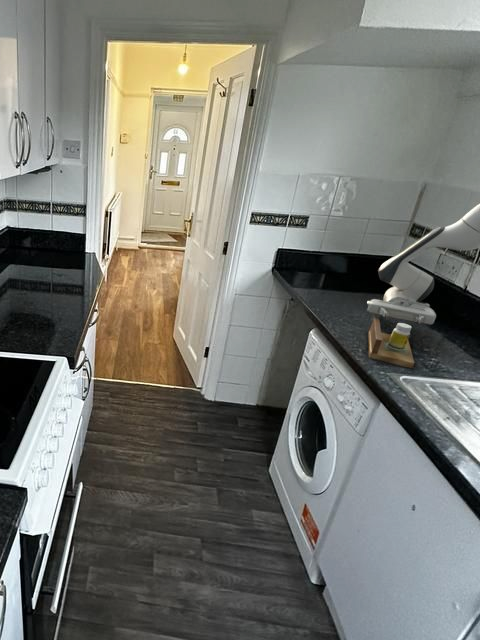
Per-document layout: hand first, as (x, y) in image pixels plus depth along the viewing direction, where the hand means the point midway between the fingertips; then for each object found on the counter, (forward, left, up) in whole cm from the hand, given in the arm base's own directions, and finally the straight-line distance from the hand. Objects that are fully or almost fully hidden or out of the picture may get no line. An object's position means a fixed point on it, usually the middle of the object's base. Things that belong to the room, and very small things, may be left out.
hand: (401, 318), depth 145 cm
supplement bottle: (+1, +10, -8) cm, 13 cm away
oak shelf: (+2, +8, -10) cm, 13 cm away
